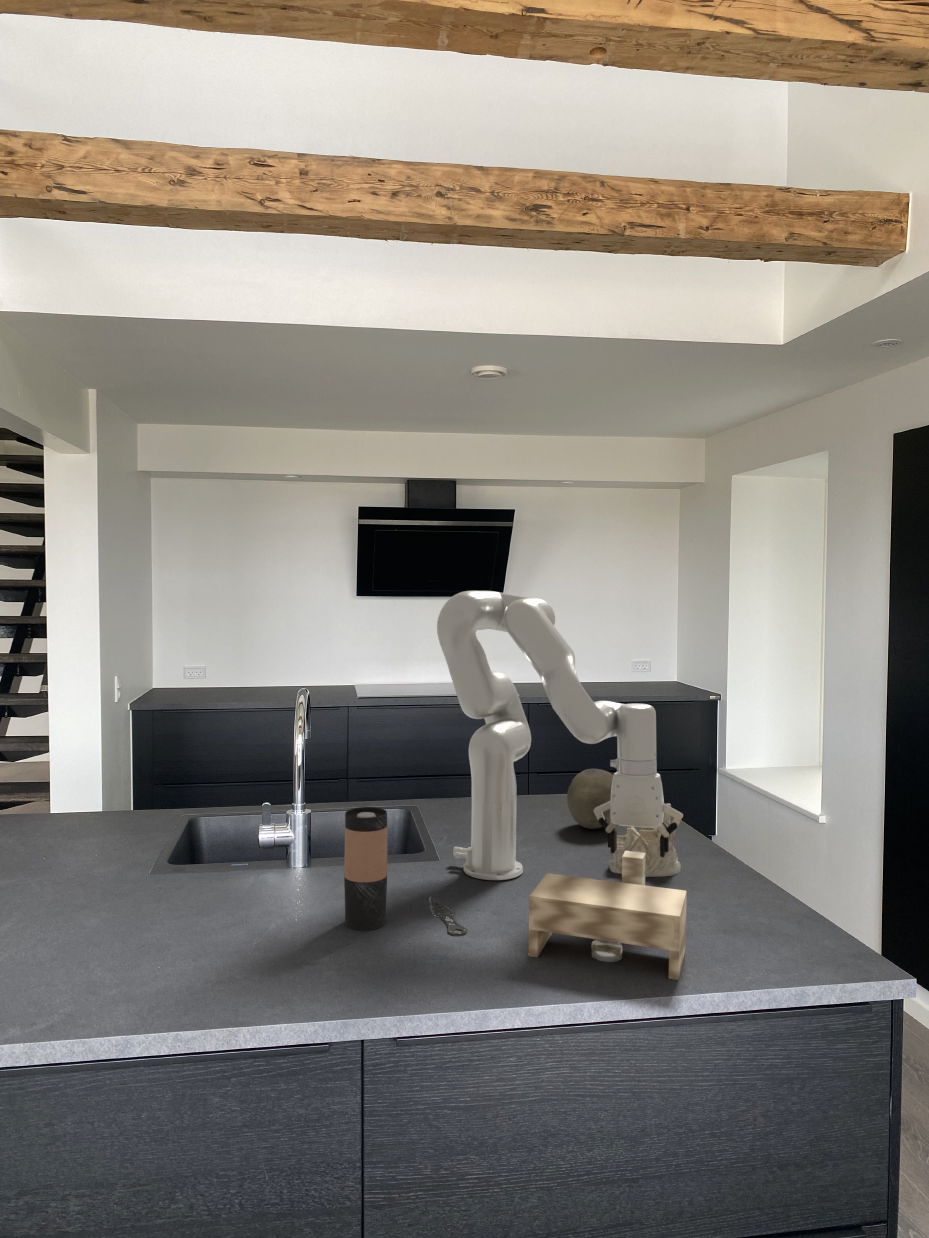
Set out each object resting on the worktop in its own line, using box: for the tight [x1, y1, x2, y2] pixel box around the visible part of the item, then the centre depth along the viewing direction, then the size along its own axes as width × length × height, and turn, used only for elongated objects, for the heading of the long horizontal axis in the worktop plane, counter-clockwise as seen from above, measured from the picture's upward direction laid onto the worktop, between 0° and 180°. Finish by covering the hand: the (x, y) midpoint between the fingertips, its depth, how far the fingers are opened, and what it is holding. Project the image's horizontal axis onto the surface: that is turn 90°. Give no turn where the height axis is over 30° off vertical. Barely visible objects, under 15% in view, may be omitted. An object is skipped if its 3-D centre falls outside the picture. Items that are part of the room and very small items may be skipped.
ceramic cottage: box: [607, 803, 682, 878], centre depth 188 cm, size 16×16×15 cm
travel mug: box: [343, 806, 388, 931], centre depth 153 cm, size 8×8×20 cm
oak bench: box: [527, 872, 688, 981], centre depth 142 cm, size 24×12×10 cm, turn 71°
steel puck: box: [591, 939, 623, 963], centre depth 141 cm, size 5×5×2 cm
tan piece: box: [621, 851, 646, 886], centre depth 160 cm, size 6×24×8 cm, turn 161°
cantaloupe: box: [566, 768, 614, 830], centre depth 215 cm, size 14×14×15 cm
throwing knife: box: [428, 895, 469, 936], centre depth 158 cm, size 4×20×1 cm, turn 18°
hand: (638, 853), depth 169 cm, fingers open, 9 cm apart
